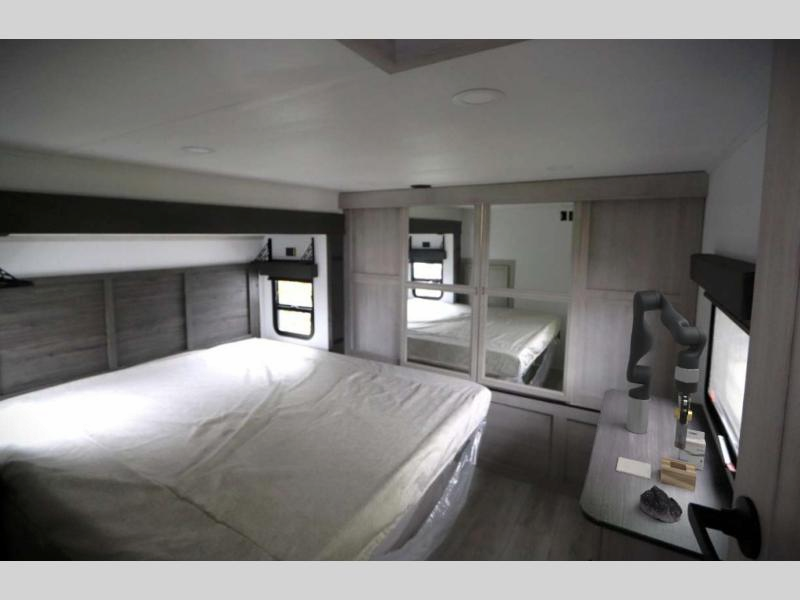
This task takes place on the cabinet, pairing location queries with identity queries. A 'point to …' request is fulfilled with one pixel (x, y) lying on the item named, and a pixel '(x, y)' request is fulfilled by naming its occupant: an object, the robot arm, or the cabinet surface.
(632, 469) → the pad
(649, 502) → the crystal cluster
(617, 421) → the cabinet surface
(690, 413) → the grey gold cylinder
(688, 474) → the wooden block
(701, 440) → the ink box
